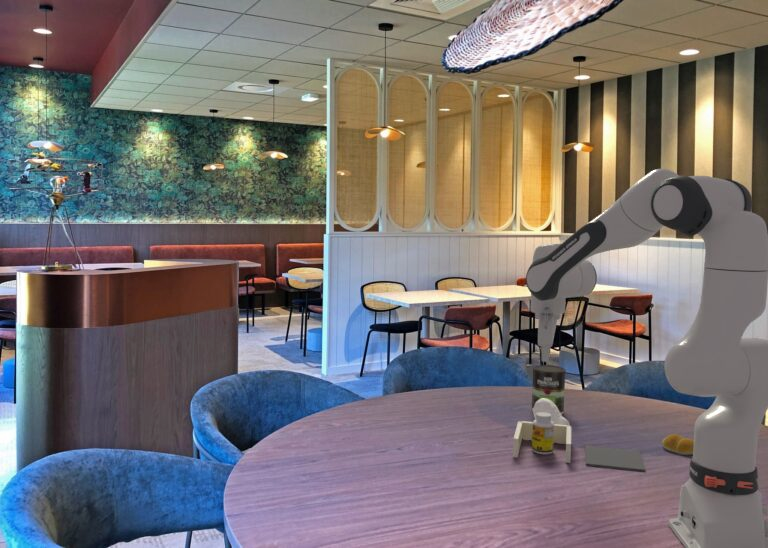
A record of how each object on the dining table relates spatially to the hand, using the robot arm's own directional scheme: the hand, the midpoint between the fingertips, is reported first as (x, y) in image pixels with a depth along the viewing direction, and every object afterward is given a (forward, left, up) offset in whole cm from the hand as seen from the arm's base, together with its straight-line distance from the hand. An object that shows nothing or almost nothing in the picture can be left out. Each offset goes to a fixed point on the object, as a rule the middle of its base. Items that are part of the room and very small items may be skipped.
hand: (545, 357), depth 176 cm
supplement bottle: (0, 0, -26) cm, 26 cm away
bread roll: (+13, -36, -26) cm, 46 cm away
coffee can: (+39, 0, -26) cm, 47 cm away
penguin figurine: (+20, -2, -26) cm, 33 cm away
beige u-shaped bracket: (+1, 0, -25) cm, 26 cm away
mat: (0, -18, -26) cm, 31 cm away
